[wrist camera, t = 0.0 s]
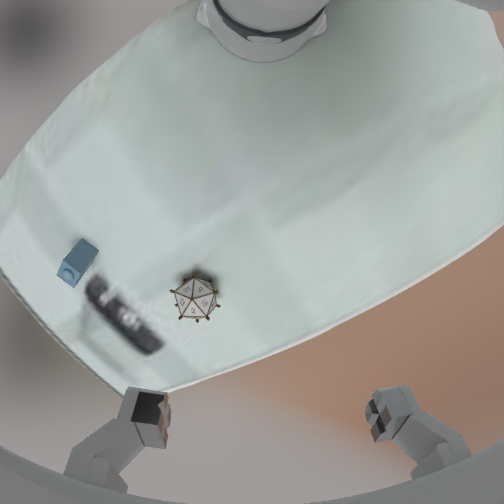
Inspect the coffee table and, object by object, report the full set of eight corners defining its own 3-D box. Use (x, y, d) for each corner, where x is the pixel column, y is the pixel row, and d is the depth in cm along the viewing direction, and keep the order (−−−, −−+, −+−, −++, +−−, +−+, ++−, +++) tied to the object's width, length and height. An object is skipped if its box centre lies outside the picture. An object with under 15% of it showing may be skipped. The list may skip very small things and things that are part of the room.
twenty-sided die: (210, 275, 58) (237, 314, 53) (176, 300, 57) (199, 340, 52) (192, 253, 51) (221, 296, 45) (153, 281, 50) (177, 327, 44)
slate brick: (82, 238, 49) (60, 262, 41) (98, 250, 50) (79, 276, 43) (75, 252, 50) (54, 277, 43) (91, 264, 52) (72, 290, 44)
